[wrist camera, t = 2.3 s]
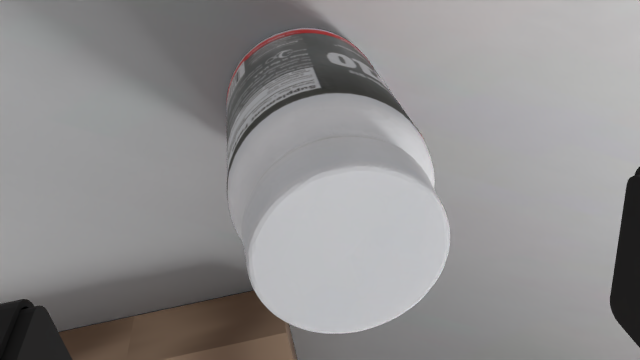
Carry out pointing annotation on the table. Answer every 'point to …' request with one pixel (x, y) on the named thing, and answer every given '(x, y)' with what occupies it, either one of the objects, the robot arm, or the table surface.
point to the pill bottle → (329, 186)
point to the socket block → (189, 334)
